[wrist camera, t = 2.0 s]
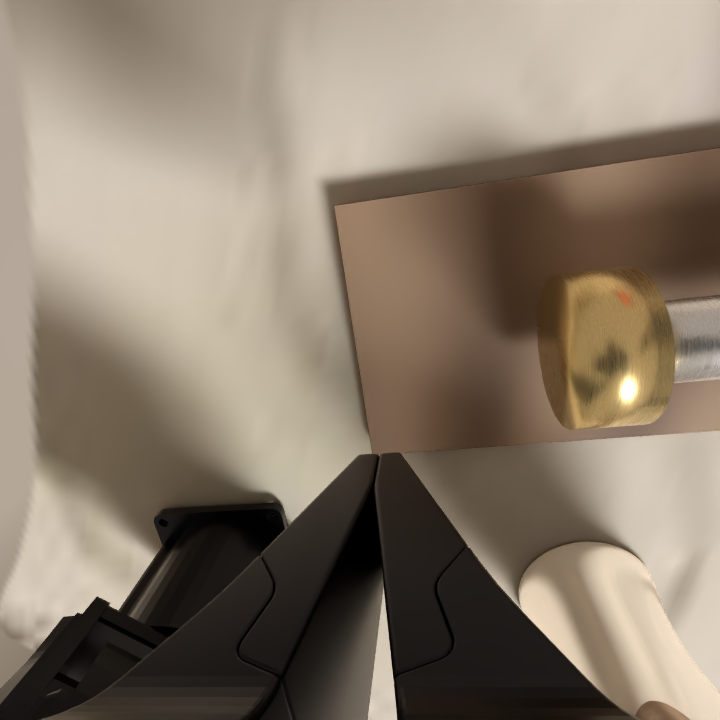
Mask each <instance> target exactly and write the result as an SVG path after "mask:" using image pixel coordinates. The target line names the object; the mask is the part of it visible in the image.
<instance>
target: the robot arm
mask: <svg viewBox="0 0 720 720" xmlns="http://www.w3.org/2000/svg"><path fill="white" fill-rule="evenodd" d="M270 513H274V514H276V516H273V515H271V514H270ZM164 519H166V520H167V521H166V520H164ZM154 524H155V526H156V529H157V532H158V534H159V537H160V540H161V542H162V545H163V546H162V547H161V549H160V550H159V552H158V553H157V555H156V556H155V558H154V559H153V561H152V562H151V563H150V565H149V566H148V568H147V569H146V571H145V572H144V574H143V575H142V577H141V578H140V580H139V581H138V583H137V584H136V585H135V587H134V588H133V590H132V591H131V593H130V594H129V596H128V597H127V599H126V600H125V602H124V603H123V605H122V606H121V608H120V609H119V610H116V609H114V608H112V607H110V606H109V604H110V603H109V602H107V601H105V600H103V599H101V598H99V597H96V598H95V599H94V601H93V602H92V603H91V604H90V606H89V607H88V608H87V609H86V610H85V612H84V613H83V614H80V613H77V614H76V615H75V616H68V617H63V618H62V619H61V621H60V622H59V623H58V624H57V626H56V627H55V628H54V629H53V631H52V632H51V633H50V634H49V636H48V637H47V638H46V639H45V641H44V642H43V643H42V644H41V646H40V647H39V648H38V649H37V650H36V652H35V653H34V654H33V655H32V656H31V657H30V659H29V660H28V661H27V662H26V663H25V664H24V665H23V666H22V667H21V668H20V669H19V670H18V671H17V672H16V673H15V674H14V675H13V676H12V677H11V679H9V680H8V682H6V684H4V685H3V687H2V688H0V720H367V719H368V711H369V703H370V694H371V686H372V678H373V669H374V661H375V653H376V644H377V636H378V628H379V620H380V611H381V603H382V595H383V586H384V593H385V603H386V612H387V622H388V631H389V641H390V650H391V660H392V669H393V678H394V688H395V698H396V709H397V720H641V719H639V718H637V717H635V716H634V715H632V714H630V713H629V712H627V711H626V710H624V709H623V708H621V707H620V706H619V705H617V704H616V703H615V702H613V701H612V700H610V699H609V698H608V697H607V696H606V695H605V694H603V693H602V692H601V691H600V690H599V689H598V688H597V687H596V686H595V685H594V684H593V683H592V682H590V681H589V680H588V679H587V678H586V677H585V676H584V674H583V673H582V672H581V671H580V670H579V669H578V668H577V667H576V666H575V665H574V664H573V663H572V662H571V661H570V660H569V659H568V658H567V657H566V656H565V655H564V654H563V653H562V652H561V651H560V650H559V649H558V648H557V647H556V645H555V644H554V643H553V642H552V641H551V640H550V639H549V638H548V637H547V636H546V635H545V634H544V633H543V632H542V631H541V630H540V629H539V628H538V627H537V626H536V625H535V624H534V623H533V622H532V621H531V620H530V619H529V618H528V616H527V615H526V614H525V613H524V612H523V611H522V610H521V609H520V608H519V607H518V606H517V605H516V604H515V603H514V602H513V600H512V599H511V598H510V597H509V596H508V595H507V594H506V593H505V592H504V591H503V589H502V588H501V587H500V586H499V585H498V584H497V583H496V581H495V580H494V579H493V578H492V576H491V575H490V574H489V573H488V571H487V570H486V569H485V568H484V566H483V565H482V564H481V562H480V561H479V560H478V558H477V557H476V556H475V554H474V553H473V551H472V550H471V549H470V548H468V545H467V544H466V542H465V541H464V540H463V538H462V537H461V535H460V534H459V533H458V531H457V530H456V529H455V527H454V526H453V524H452V523H451V522H450V520H449V519H448V518H447V516H446V515H445V514H444V512H443V511H442V509H441V508H440V507H439V505H438V504H437V503H436V501H435V500H434V498H433V497H432V496H431V494H430V493H429V492H428V490H427V489H426V487H425V486H424V485H423V483H422V482H421V481H420V479H419V478H418V477H417V475H416V474H415V472H414V471H413V470H412V468H411V467H410V466H409V464H408V463H407V461H406V460H405V459H404V457H403V456H402V455H401V454H400V453H399V452H392V453H382V454H380V456H379V455H378V454H365V455H359V456H357V457H356V458H355V459H354V460H353V461H352V462H351V463H350V464H349V465H348V466H347V467H346V468H345V469H344V470H343V471H342V472H341V473H340V474H339V475H338V476H337V477H336V478H335V479H334V480H333V481H332V482H331V483H330V484H329V485H328V487H327V488H326V489H325V490H324V491H323V492H322V493H321V494H320V495H319V496H318V497H317V498H316V499H315V500H314V501H313V502H312V503H311V504H310V505H309V506H308V507H307V508H306V509H305V510H304V511H303V512H302V513H301V514H300V515H299V516H298V517H297V518H296V519H295V520H294V521H293V522H292V523H291V524H290V525H289V526H288V524H287V520H286V516H285V512H284V509H283V508H282V507H281V506H280V505H279V504H276V503H261V504H244V505H227V506H209V507H192V508H174V509H163V510H161V511H160V512H159V513H158V514H157V515H156V517H155V519H154Z"/></svg>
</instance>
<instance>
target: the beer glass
mask: <svg viewBox="0 0 720 720" xmlns="http://www.w3.org/2000/svg"><path fill="white" fill-rule="evenodd" d="M519 602H520V605H521V608H522V611H523V612H524V613H525V614H526V615H527V616H528V618H529V619H530V620H531V621H532V622H533V623H534V624H535V625H536V626H537V627H538V628H539V629H540V630H541V631H542V632H543V633H544V634H545V635H546V636H547V637H548V638H549V639H550V640H551V641H552V642H553V643H554V644H555V645H556V647H557V648H558V649H559V650H560V651H561V652H562V653H563V654H564V655H565V656H566V657H567V658H568V659H569V660H570V661H571V662H572V663H573V664H574V665H575V666H576V667H577V668H578V669H579V670H580V671H581V672H582V673H583V674H584V676H585V677H586V678H587V679H588V680H589V681H590V682H592V683H593V684H594V685H595V686H596V687H597V688H598V689H599V690H600V691H601V692H602V693H603V694H605V695H606V696H607V697H608V698H609V699H610V700H612V701H613V702H615V703H616V704H617V705H619V706H620V707H621V708H623V709H624V710H626V711H627V712H629V713H630V714H632V715H634V716H635V717H637V718H639V719H641V720H720V693H719V692H718V691H717V689H716V688H715V687H714V686H713V684H712V683H711V682H710V681H709V679H708V678H707V677H706V676H705V674H704V673H703V672H702V671H701V669H700V668H699V667H698V666H697V664H696V663H695V662H694V660H693V659H692V658H691V656H690V655H689V653H688V652H687V650H686V649H685V647H684V646H683V644H682V643H681V641H680V640H679V638H678V636H677V634H676V632H675V631H674V629H673V627H672V625H671V623H670V621H669V619H668V617H667V614H666V612H665V609H664V607H663V604H662V601H661V599H660V596H659V594H658V591H657V588H656V586H655V583H654V581H653V579H652V577H651V575H650V573H649V571H648V570H647V568H646V567H645V565H644V564H643V563H642V562H641V561H640V560H639V559H638V558H637V557H636V556H634V555H633V554H632V553H630V552H628V551H627V550H625V549H622V548H620V547H618V546H615V545H611V544H607V543H601V542H576V543H570V544H566V545H562V546H559V547H556V548H554V549H552V550H550V551H548V552H546V553H544V554H542V555H541V556H540V557H538V558H537V559H536V560H535V561H533V562H532V563H531V564H530V565H529V567H528V568H527V569H526V571H525V572H524V574H523V576H522V578H521V580H520V584H519Z"/></svg>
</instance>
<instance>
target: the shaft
mask: <svg viewBox="0 0 720 720" xmlns="http://www.w3.org/2000/svg"><path fill="white" fill-rule="evenodd" d="M537 336H538V352H539V360H540V367H541V373H542V378H543V383H544V387H545V391H546V394H547V397H548V400H549V403H550V406H551V408H552V410H553V413H554V415H555V416H556V418H557V420H558V421H559V423H560V424H561V425H562V426H563V427H564V428H566V429H567V430H580V429H593V428H607V427H620V426H634V425H646V424H650V423H652V422H655V421H656V420H657V419H658V418H659V417H660V416H661V415H662V413H663V412H664V410H665V408H666V407H667V405H668V402H669V399H670V397H671V393H672V389H673V384H674V383H682V382H694V381H706V380H717V379H720V295H712V296H702V297H693V298H684V299H675V300H666V301H664V300H663V297H662V295H661V293H660V291H659V289H658V288H657V286H656V285H655V283H654V282H653V280H652V279H651V278H650V277H649V276H648V275H647V274H646V273H645V272H644V271H642V270H641V269H639V268H637V267H633V266H625V267H617V268H609V269H600V270H592V271H584V272H575V273H567V274H559V275H552V276H550V277H549V278H548V279H547V281H546V282H545V284H544V287H543V289H542V293H541V297H540V301H539V308H538V321H537Z"/></svg>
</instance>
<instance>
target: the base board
mask: <svg viewBox="0 0 720 720" xmlns="http://www.w3.org/2000/svg"><path fill="white" fill-rule="evenodd" d="M334 208H335V214H336V221H337V227H338V234H339V240H340V247H341V253H342V260H343V266H344V273H345V279H346V286H347V292H348V299H349V305H350V312H351V318H352V325H353V331H354V338H355V344H356V351H357V357H358V364H359V370H360V377H361V383H362V390H363V396H364V403H365V409H366V416H367V422H368V429H369V435H370V442H371V448H372V454H378V455H380V454H382V453H392V452H399V453H408V452H422V451H436V450H451V449H465V448H479V447H493V446H507V445H521V444H535V443H550V442H564V441H578V440H592V439H606V438H620V437H635V436H649V435H663V434H677V433H691V432H705V431H720V379H717V380H706V381H694V382H682V383H674V384H673V389H672V393H671V397H670V399H669V402H668V405H667V407H666V408H665V410H664V412H663V413H662V415H661V416H660V417H659V418H658V419H657V420H656V421H655V422H652V423H650V424H646V425H634V426H620V427H607V428H593V429H580V430H567V429H566V428H564V427H563V426H562V425H561V424H560V423H559V421H558V420H557V418H556V416H555V415H554V413H553V410H552V408H551V406H550V403H549V400H548V397H547V394H546V391H545V387H544V383H543V378H542V373H541V367H540V360H539V352H538V336H537V321H538V308H539V301H540V297H541V293H542V289H543V287H544V284H545V282H546V281H547V279H548V278H549V277H550V276H552V275H559V274H567V273H575V272H584V271H592V270H600V269H609V268H617V267H625V266H633V267H637V268H639V269H641V270H642V271H644V272H645V273H646V274H647V275H648V276H649V277H650V278H651V279H652V280H653V282H654V283H655V285H656V286H657V288H658V289H659V291H660V293H661V295H662V297H663V300H664V301H666V300H675V299H684V298H693V297H702V296H712V295H720V148H714V149H708V150H701V151H694V152H688V153H681V154H674V155H668V156H661V157H655V158H648V159H641V160H635V161H628V162H621V163H615V164H608V165H601V166H595V167H588V168H581V169H575V170H568V171H562V172H555V173H548V174H542V175H535V176H528V177H522V178H515V179H508V180H502V181H495V182H489V183H482V184H475V185H469V186H462V187H455V188H449V189H442V190H435V191H429V192H422V193H416V194H409V195H402V196H396V197H389V198H382V199H376V200H369V201H362V202H356V203H349V204H343V205H337V206H334Z"/></svg>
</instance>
